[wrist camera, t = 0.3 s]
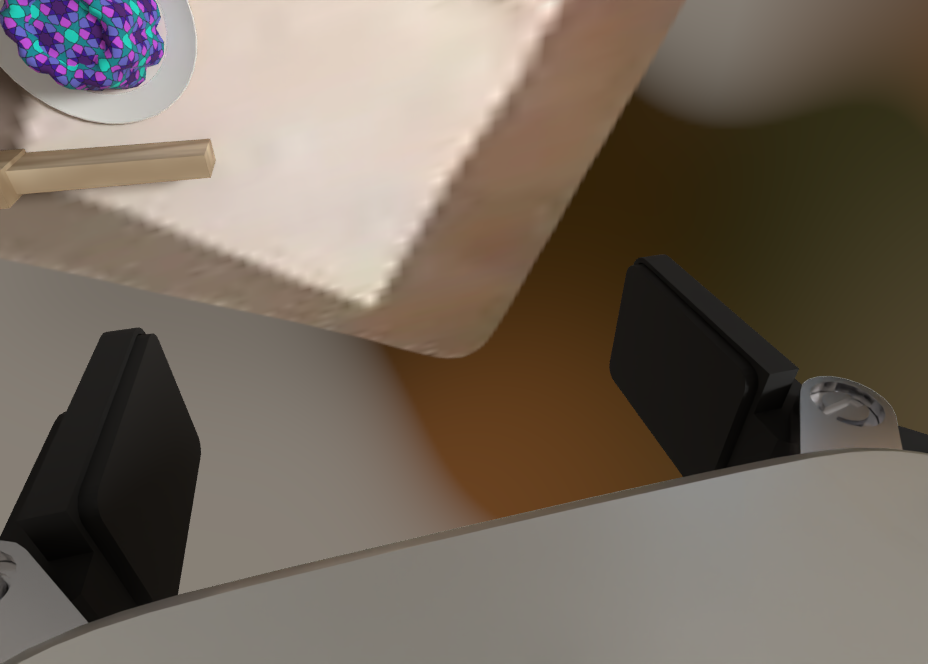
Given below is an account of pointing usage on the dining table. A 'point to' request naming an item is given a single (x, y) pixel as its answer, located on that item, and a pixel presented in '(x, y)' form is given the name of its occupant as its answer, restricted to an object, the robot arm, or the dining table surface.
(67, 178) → the pair of beige bars
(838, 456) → the robot arm
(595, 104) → the dining table surface
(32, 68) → the pudding
